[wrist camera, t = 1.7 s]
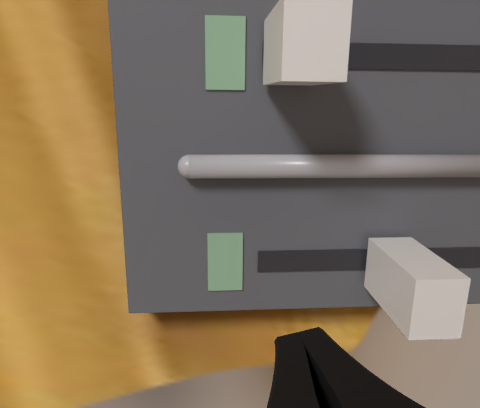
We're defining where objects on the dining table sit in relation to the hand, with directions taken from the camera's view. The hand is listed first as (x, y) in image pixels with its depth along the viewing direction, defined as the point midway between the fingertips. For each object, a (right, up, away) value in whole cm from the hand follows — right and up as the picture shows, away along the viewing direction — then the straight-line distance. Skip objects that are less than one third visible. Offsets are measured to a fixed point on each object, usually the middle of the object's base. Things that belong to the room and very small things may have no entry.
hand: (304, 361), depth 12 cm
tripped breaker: (+5, +2, +7) cm, 9 cm away
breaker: (0, +10, +4) cm, 11 cm away
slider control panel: (+3, +7, +8) cm, 11 cm away
